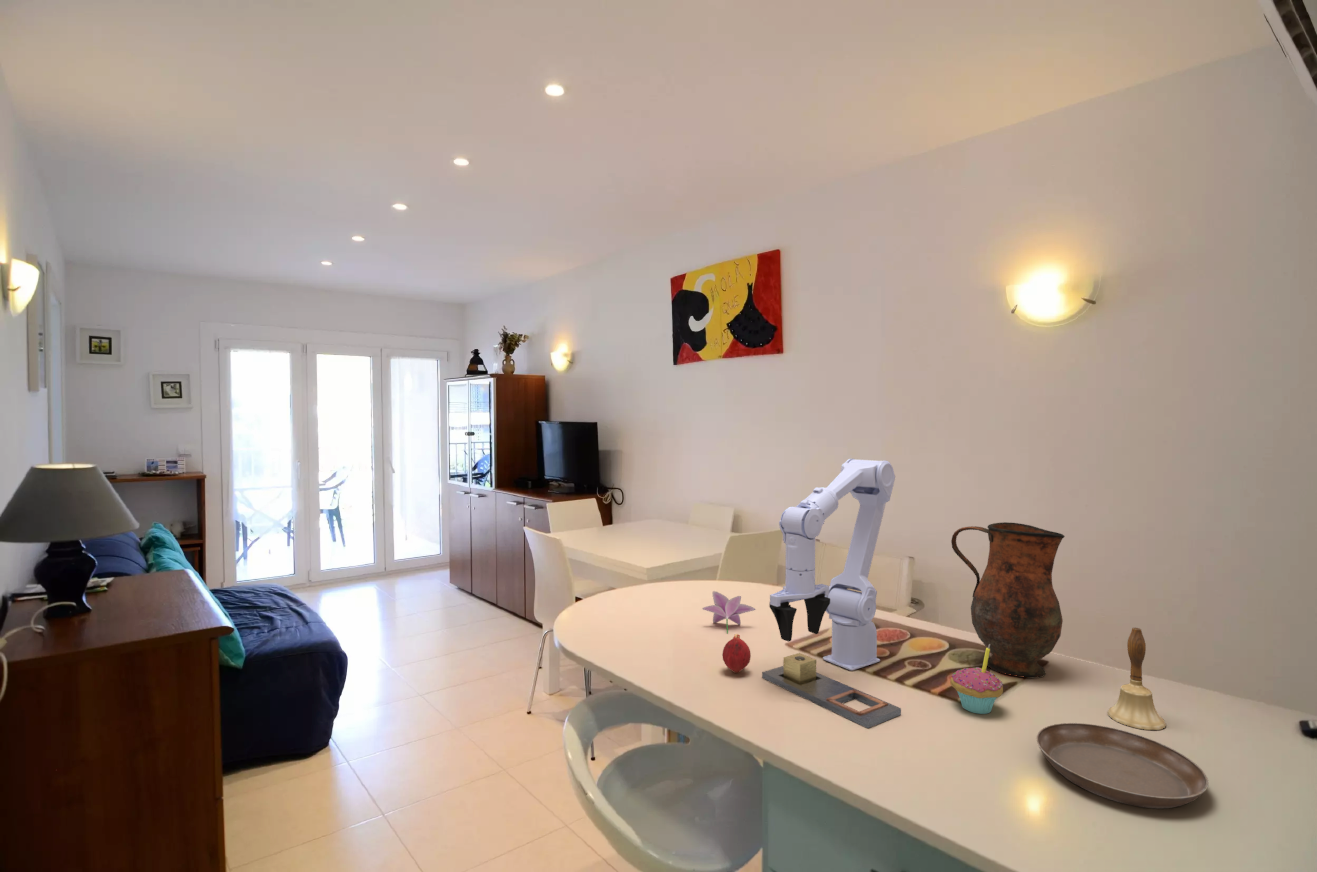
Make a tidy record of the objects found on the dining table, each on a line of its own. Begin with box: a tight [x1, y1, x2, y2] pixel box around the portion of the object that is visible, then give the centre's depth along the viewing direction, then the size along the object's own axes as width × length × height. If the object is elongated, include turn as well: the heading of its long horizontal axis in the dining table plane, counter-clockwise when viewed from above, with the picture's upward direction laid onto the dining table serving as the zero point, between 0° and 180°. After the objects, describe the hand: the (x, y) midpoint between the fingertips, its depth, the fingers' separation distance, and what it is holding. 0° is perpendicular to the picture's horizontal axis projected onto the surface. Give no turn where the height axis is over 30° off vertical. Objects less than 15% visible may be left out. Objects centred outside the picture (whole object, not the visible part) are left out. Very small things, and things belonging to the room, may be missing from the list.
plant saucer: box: [1035, 722, 1209, 809], centre depth 97 cm, size 21×21×3 cm
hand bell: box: [1106, 627, 1167, 731], centre depth 115 cm, size 8×8×16 cm
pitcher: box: [950, 521, 1065, 678], centre depth 139 cm, size 17×21×30 cm
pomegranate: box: [721, 633, 752, 674], centre depth 136 cm, size 6×6×8 cm
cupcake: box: [949, 644, 1004, 715], centre depth 119 cm, size 9×8×12 cm
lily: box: [701, 590, 757, 634], centre depth 164 cm, size 12×12×10 cm
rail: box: [761, 665, 902, 729], centre depth 125 cm, size 9×26×1 cm, turn 34°
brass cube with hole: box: [783, 652, 817, 685], centre depth 131 cm, size 4×4×5 cm
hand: (799, 636), depth 130 cm, fingers open, 7 cm apart
